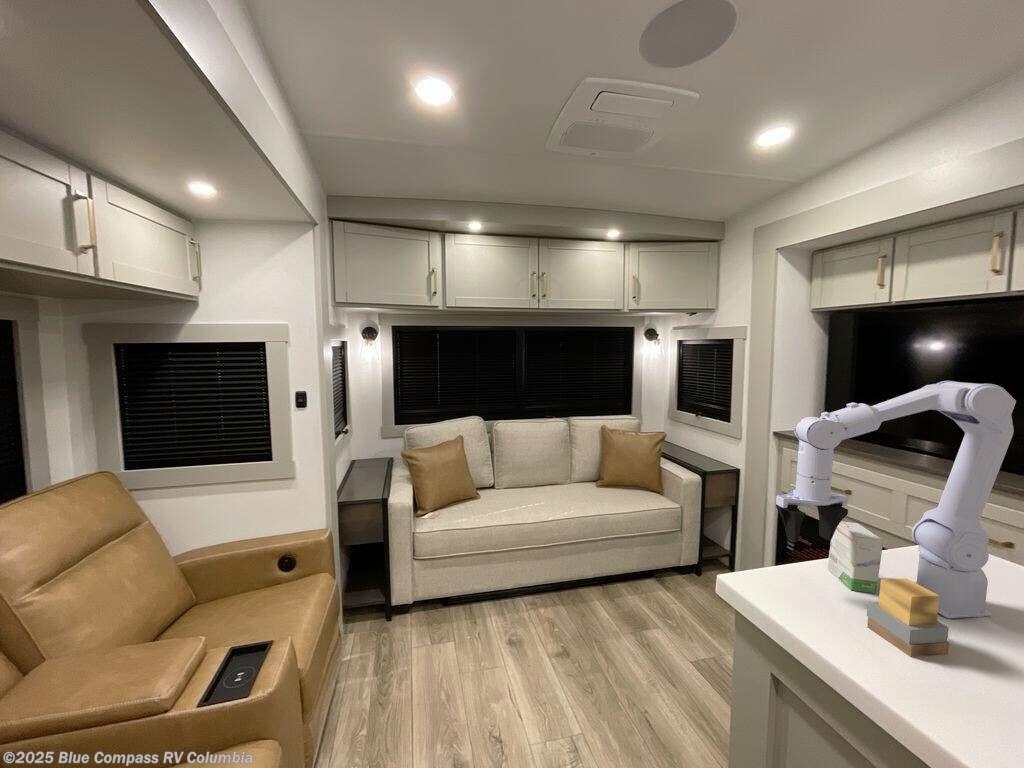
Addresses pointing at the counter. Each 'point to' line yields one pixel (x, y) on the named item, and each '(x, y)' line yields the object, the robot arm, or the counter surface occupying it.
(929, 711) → the counter surface
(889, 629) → the slate-grey slab
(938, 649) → the walnut slab
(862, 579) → the ink box
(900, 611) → the ochre cube
